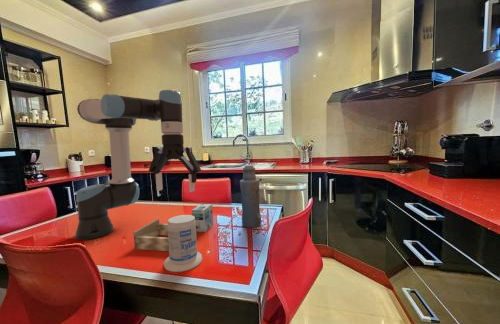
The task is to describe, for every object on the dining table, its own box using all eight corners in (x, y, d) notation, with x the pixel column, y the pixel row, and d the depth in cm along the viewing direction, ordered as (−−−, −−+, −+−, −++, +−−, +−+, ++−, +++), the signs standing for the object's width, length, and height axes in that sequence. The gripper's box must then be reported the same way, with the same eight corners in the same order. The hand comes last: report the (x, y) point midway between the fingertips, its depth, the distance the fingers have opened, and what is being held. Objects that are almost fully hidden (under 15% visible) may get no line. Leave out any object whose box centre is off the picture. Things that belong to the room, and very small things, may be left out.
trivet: (156, 270, 74) (155, 268, 74) (176, 251, 87) (176, 249, 87) (191, 273, 71) (191, 271, 71) (207, 253, 84) (207, 251, 84)
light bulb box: (205, 232, 104) (204, 210, 104) (192, 231, 106) (191, 209, 105) (213, 224, 115) (212, 203, 114) (201, 223, 116) (200, 203, 115)
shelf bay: (134, 248, 90) (133, 232, 90) (157, 233, 105) (156, 219, 105) (175, 251, 87) (174, 234, 86) (193, 235, 102) (192, 220, 101)
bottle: (258, 228, 106) (255, 166, 104) (239, 227, 110) (236, 166, 107) (263, 221, 115) (261, 164, 113) (245, 220, 118) (243, 164, 116)
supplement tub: (185, 268, 73) (183, 224, 72) (163, 263, 77) (160, 221, 76) (202, 254, 82) (200, 215, 81) (182, 250, 86) (179, 213, 84)
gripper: (136, 134, 81) (140, 192, 83) (199, 132, 75) (202, 194, 77) (149, 135, 88) (153, 187, 90) (208, 133, 82) (210, 189, 85)
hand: (175, 190), depth 84 cm, fingers open, 13 cm apart
